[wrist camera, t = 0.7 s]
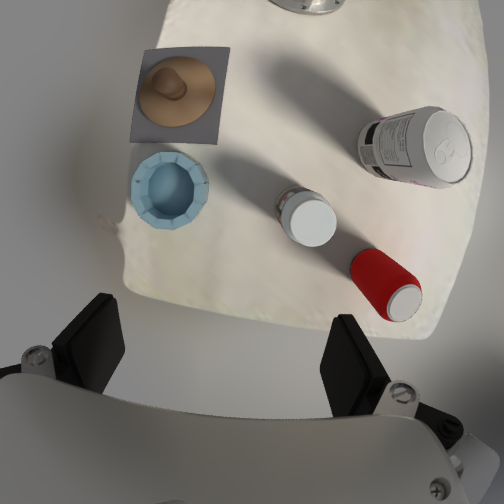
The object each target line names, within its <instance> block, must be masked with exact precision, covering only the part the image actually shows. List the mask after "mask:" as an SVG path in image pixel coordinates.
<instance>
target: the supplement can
mask: <svg viewBox="0 0 504 504" xmlns="http://www.w3.org/2000/svg"><path fill="white" fill-rule="evenodd" d="M357 142H358V154H359V157H360V160H361V163H362V164H363V165H364V167H365V168H366V169H367V171H369V172H370V173H371V174H373V175H374V176H375V177H379V178H383V179H388V180H394V181H400V182H406V183H411V184H416V185H421V186H426V187H431V188H436V189H448V188H451V187H453V186H454V185H456V184H459V183H461V182H462V181H463V180H465V179H466V177H467V176H468V174H469V172H470V171H471V167H472V163H473V145H472V141H471V137H470V134H469V132H468V130H467V128H466V126H465V124H464V123H463V122H462V121H461V120H460V119H459V118H458V117H457V116H456V115H454V114H452V113H451V112H449V111H445V110H444V109H442V108H440V107H433V106H427V107H423V108H419V109H415V110H411V111H407V112H403V113H399V114H396V115H392V116H389V117H385V118H382V119H378V120H375V121H373V122H371V123H369V124H367V125H366V126H365V127H364V128H363V129H362V131H361V132H360V135H359V138H358V141H357Z"/></svg>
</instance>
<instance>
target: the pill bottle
mask: <svg viewBox="0 0 504 504" xmlns="http://www.w3.org/2000/svg"><path fill="white" fill-rule="evenodd" d="M275 213H276V216H277V219H278V220H279V222H280V224H281V226H282V228H283V229H284V231H285V233H286V234H287V235H288V236H289V238H291V239H292V240H294V241H295V242H298V243H301V244H303V245H305V246H309V247H315V246H320V245H322V244H324V243H326V242H327V241H328V240H329V239H330V238H331V237H332V236H333V234H334V232H335V229H336V223H337V221H336V216H335V213H334V211H333V209H332V208H331V207H330V205H329V203H328V201H327V200H326V199H325V198H324V197H323V196H322V195H320V194H318V193H316V192H314V191H311V190H309V189H306V188H304V187H291V188H288V189H286V190H284V191H283V192H282V193H281V194H280V195H279V197H278V198H277V201H276V204H275Z"/></svg>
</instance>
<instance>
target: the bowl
mask: <svg viewBox="0 0 504 504" xmlns="http://www.w3.org/2000/svg"><path fill="white" fill-rule="evenodd" d="M132 179H133V180H131V199H132V200H131V201H132V203H133V205H134V207H135V209H136V212H137V214H138V216H140V218H141V219H143V220H144V221H145V222H147V223H148V224H150V225H151V226H152V227H154V228H155V227H156V228H157V229H168V230H175V229H177V228H179V227H181V226H183V225H185V224H188V223H190V222H191V221H193V220H194V219H195V218H196V217H197V215H198V214H199V212H200V211H201V209H202V208H203V207H204V205H205V204H206V202H207V199H208V191H209V182H208V181H209V180H208V178H207V176H206V173H205V171H204V169H203V168H202V165H200V163H199V162H197V161H196V160H194V159H193V158H191V157H190V156H188V155H187V154H185V153H179V152H158V153H156V154H154V155H153V156H151V157H149V158H147V159H146V160H144V161H142V162H141V164H140V166H139V167H138V169H137V171H136V172H135V174H134V176H133V177H132Z"/></svg>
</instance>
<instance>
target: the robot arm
mask: <svg viewBox="0 0 504 504" xmlns="http://www.w3.org/2000/svg"><path fill="white" fill-rule="evenodd" d="M271 1H273V2H274V3H276V4H277V5H279V6H280V7H283V8H285V9H287V10H290V11H293V12H296V13H301V14H307V15H323V14H328V13H331V12H334V11H336V10H337V9H339V8H340V7H341V6H342V4H343V3H344V1H345V0H271ZM52 345H53V347H52V349H51V350H50V349H49V348H48V347H46V346H41V345H38V346H33V347H30V348H29V349H27V350H26V351H25V352H24V353H23V355H22V358H21V364H17V365H13V366H9V367H5V368H0V504H479V502H480V501H481V499H482V497H483V496H484V494H485V492H486V491H487V489H488V487H489V485H490V483H491V481H492V479H493V478H494V476H495V474H496V471H497V470H498V468H499V464H500V459H499V456H498V454H497V453H496V452H495V451H493V450H492V449H490V448H489V447H488V446H486V445H485V444H484V443H482V442H481V441H479V440H478V439H476V438H475V437H473V436H472V435H471V434H469V433H467V434H466V435H465V434H463V431H464V429H463V425H462V423H461V422H460V421H459V420H458V419H457V418H456V417H454V416H452V415H450V414H447V413H445V412H442V411H440V410H437V409H435V408H433V407H430V406H428V405H426V404H423V403H421V402H419V400H420V394H419V391H418V389H417V388H416V387H415V386H414V385H412V384H411V383H409V382H407V381H403V380H396V381H391V380H390V378H389V376H388V374H387V373H386V371H385V369H384V367H383V365H382V364H381V362H380V360H379V358H378V357H377V355H376V353H375V351H374V350H373V348H372V346H371V345H370V343H369V341H368V340H367V338H366V336H365V335H364V333H363V331H362V330H361V328H360V326H359V325H358V323H357V321H356V320H355V318H354V316H353V315H352V314H339V315H338V316H337V317H335V318H334V319H333V322H332V326H331V330H330V333H329V337H328V341H327V344H326V347H325V351H324V354H323V357H322V361H321V364H320V374H321V377H322V380H323V384H324V387H325V391H326V394H327V397H328V401H329V404H330V407H331V411H332V414H333V417H331V418H313V419H312V418H310V419H252V418H236V417H223V416H213V415H204V414H195V413H188V412H181V411H175V410H169V409H163V408H158V407H153V406H148V405H144V404H139V403H134V402H130V401H126V400H121V399H117V398H114V397H111V396H107V395H104V394H102V393H103V391H104V389H105V387H106V386H107V384H108V382H109V380H110V378H111V376H112V375H113V373H114V371H115V369H116V367H117V366H118V364H119V362H120V360H121V359H122V357H123V355H124V353H125V345H124V340H123V335H122V330H121V324H120V319H119V312H118V306H117V300H116V299H115V298H113V295H112V294H106V293H99V294H98V295H97V296H96V297H95V298H94V299H93V300H92V301H91V302H90V303H89V304H88V305H87V306H86V307H85V308H84V309H83V310H82V311H81V312H80V313H79V314H78V315H77V316H76V317H75V318H74V319H73V320H72V321H71V322H70V323H69V325H68V326H67V327H66V328H65V329H64V330H63V331H62V332H61V333H60V334H59V335H58V336H57V338H56V339H55V340H54V341H53V342H52Z"/></svg>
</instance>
